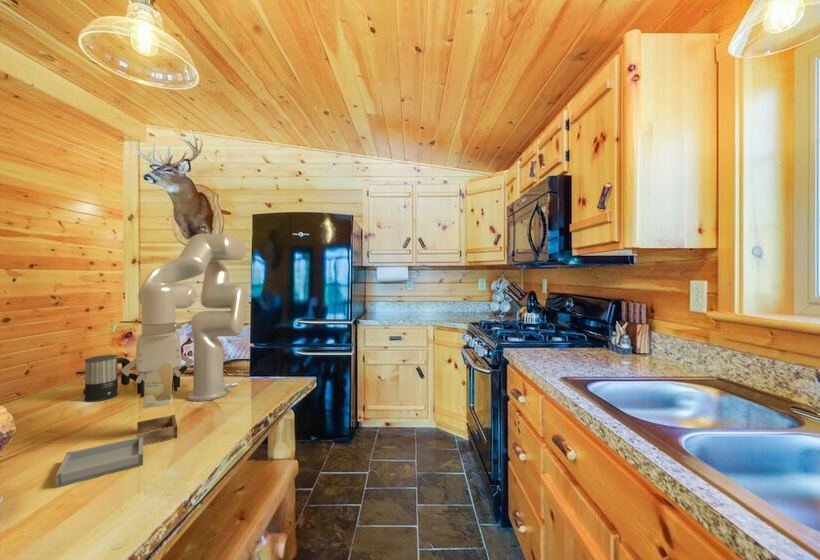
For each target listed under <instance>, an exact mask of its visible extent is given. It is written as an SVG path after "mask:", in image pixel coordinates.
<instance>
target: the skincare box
mask: <svg viewBox="0 0 820 560" xmlns="http://www.w3.org/2000/svg"><path fill="white" fill-rule="evenodd" d="M172 364H173V362H170V363H164V364H163V365H162V366H161V367H160V368H159V369H158V370H156V371H151V372H146V373H145V376H144V397H143V400H142V401H143V403H142V405H143V406H142V409H149V408H159V407H167V406H171V405H172V402H173V396H174V394H173V393H174V375H175V373H174V372H173V368H172Z"/></svg>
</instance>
